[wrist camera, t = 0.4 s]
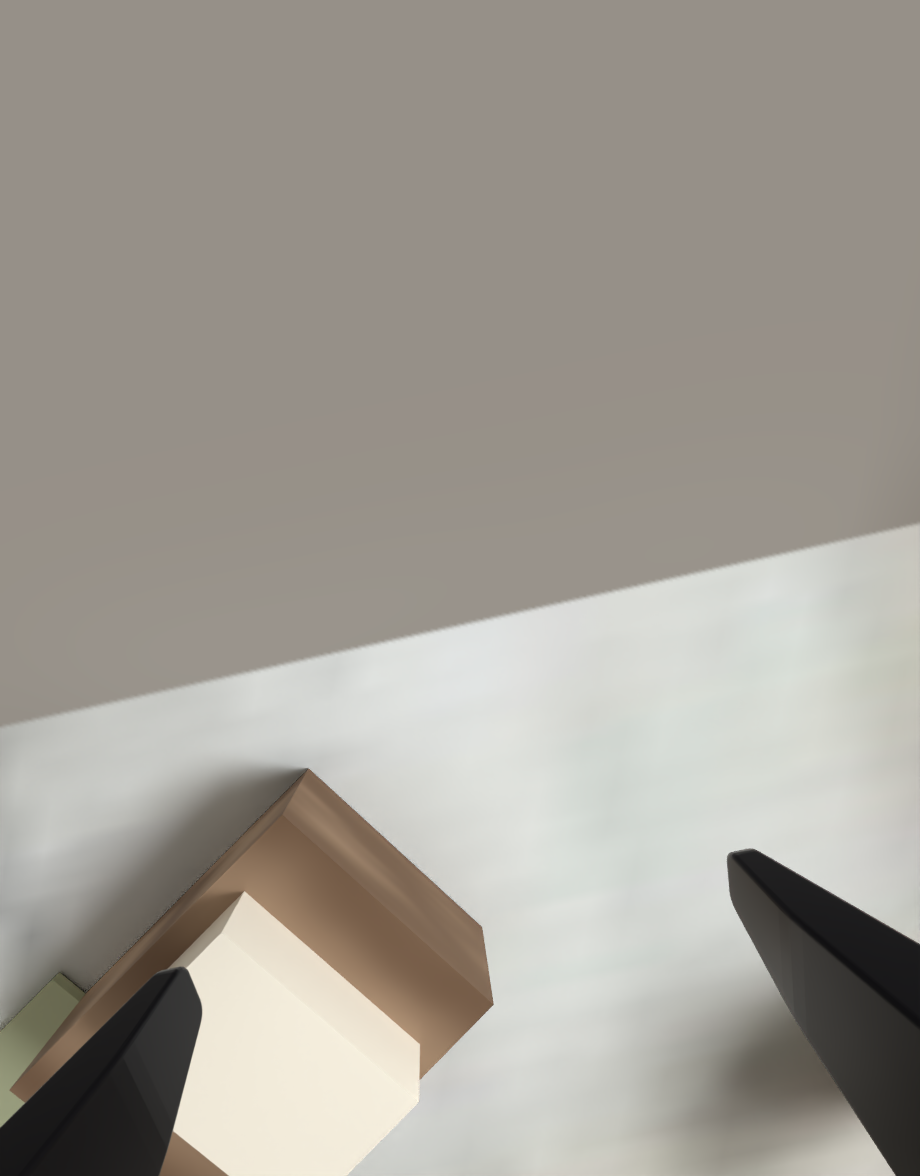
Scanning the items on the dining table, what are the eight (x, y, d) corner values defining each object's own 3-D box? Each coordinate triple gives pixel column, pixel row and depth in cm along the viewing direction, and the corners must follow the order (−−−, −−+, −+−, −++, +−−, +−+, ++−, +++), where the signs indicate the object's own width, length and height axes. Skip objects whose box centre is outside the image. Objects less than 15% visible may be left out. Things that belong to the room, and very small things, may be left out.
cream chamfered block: (308, 1157, 19) (294, 1228, 17) (128, 1008, 18) (90, 1064, 16) (419, 1044, 19) (419, 1101, 17) (244, 891, 18) (221, 932, 16)
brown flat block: (269, 1143, 23) (235, 1267, 19) (85, 993, 22) (9, 1090, 18) (482, 927, 23) (493, 1004, 19) (308, 768, 22) (282, 814, 18)
